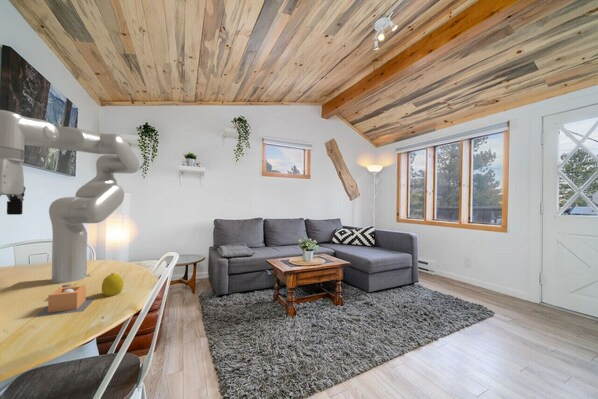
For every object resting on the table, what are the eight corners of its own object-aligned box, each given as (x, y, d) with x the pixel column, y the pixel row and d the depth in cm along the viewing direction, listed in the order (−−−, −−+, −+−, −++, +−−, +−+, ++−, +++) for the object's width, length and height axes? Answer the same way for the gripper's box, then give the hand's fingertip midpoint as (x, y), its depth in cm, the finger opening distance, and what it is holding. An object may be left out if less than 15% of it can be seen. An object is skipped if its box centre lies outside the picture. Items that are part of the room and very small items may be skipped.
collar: (59, 303, 71) (59, 287, 71) (85, 300, 74) (85, 285, 74) (48, 312, 66) (48, 295, 66) (76, 309, 68) (77, 292, 68)
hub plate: (53, 306, 72) (54, 285, 72) (96, 302, 76) (96, 281, 76) (33, 323, 63) (33, 298, 63) (83, 316, 67) (83, 293, 67)
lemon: (111, 302, 76) (112, 276, 76) (96, 300, 77) (97, 274, 77) (127, 295, 82) (127, 271, 82) (113, 294, 83) (113, 270, 83)
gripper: (7, 158, 77) (6, 213, 77) (-41, 148, 61) (-43, 218, 62) (39, 160, 80) (38, 213, 80) (1, 151, 64) (-1, 217, 64)
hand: (3, 215), depth 71 cm, fingers open, 9 cm apart
